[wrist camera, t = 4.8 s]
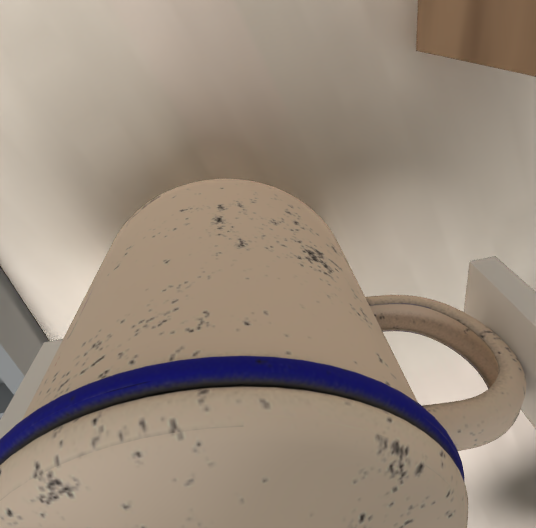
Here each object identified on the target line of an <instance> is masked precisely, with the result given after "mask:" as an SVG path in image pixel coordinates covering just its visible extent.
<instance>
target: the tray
mask: <svg viewBox="0 0 536 528" xmlns="http://www.w3.org/2000/svg"><path fill="white" fill-rule="evenodd" d="M44 342H49V340H48V339H47V337H46V336H45V334H44V333H43V331H42V330H41V328H40V327H39V325H38V324H37V322H36V321H35V319H34V317H33V316H32V314H31V313H30V311H29V310H28V308H27V307H26V305H25V304H24V302H23V301H22V299H21V298H20V296H19V294H18V293H17V291H16V290H15V288H14V287H13V285H12V284H11V282H10V281H9V279H8V278H7V276H6V275H5V273H4V272H3V270H2V268H1V267H0V420H1V418H2V416H3V414H4V412H5V411H6V409H7V407H8V405H9V404H10V402H11V400H12V398H13V397H14V395H15V393H16V391H17V389H18V388H19V386H20V384H21V382H22V381H23V379H24V377H25V375H26V373H27V372H28V370H29V368H30V366H31V365H32V363H33V361H34V359H35V357H36V356H37V354H38V352H39V350H40V349H41V347H42V345H43V343H44Z"/></svg>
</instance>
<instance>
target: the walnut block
mask: <svg viewBox="0 0 536 528" xmlns="http://www.w3.org/2000/svg"><path fill="white" fill-rule="evenodd" d="M416 51H421V52H425V53H430V54H434V55H439V56H444V57H448V58H453V59H457V60H462V61H467V62H471V63H476V64H481V65H485V66H490V67H494V68H499V69H504V70H508V71H513V72H517V73H522V74H527V75H531V76H536V0H418V16H417V45H416Z"/></svg>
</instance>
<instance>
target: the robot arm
mask: <svg viewBox="0 0 536 528" xmlns="http://www.w3.org/2000/svg"><path fill="white" fill-rule="evenodd" d="M464 313H466V314H468V315H470V316H472V317H473V318H475V319H477V320H478V321H480V322H481V323H483V324H484V325H485V326H487V327H488V328H489V329H491V330H492V331H493V332H494V333H496V334H497V335H498V336H499V337H500V338H501V339H502V340H503V341H504V342H505V343H506V344H507V345H508V346H509V348H510V349H511V350H512V351H513V353H514V354H515V355H516V357H517V359H518V360H519V362H520V364H521V366H522V369H523V371H524V374H525V379H526V394H525V398H524V401H523V404H522V407H521V410H522V412H523V413H524V414H525V416H526V417H527V418H528V419H529V421H530V422H531V423H532V425H533V426H534V427H535V429H536V292H535V291H534V290H533V289H532V288H531V287H530V286H528V285H527V284H526V283H525V282H524V281H523V280H522V279H521V278H519V277H518V276H517V275H516V274H515V273H514V272H513V271H511V270H510V269H509V268H508V267H507V266H506V265H505V264H504V263H502V262H501V261H500V260H499V259H498V258H497V257H496V256H494V257H489V258H484V259H479V260H473V261H470V263H469V271H468V280H467V288H466V296H465V305H464ZM62 340H63V339H60V340H55V341H49V342H44V343H43V345H42V347H41V349H40V350H39V352H38V354H37V356H36V357H35V359H34V361H33V363H32V365H31V366H30V368H29V370H28V372H27V373H26V375H25V377H24V379H23V381H22V382H21V384H20V386H19V388H18V389H17V391H16V393H15V395H14V397H13V398H12V400H11V402H10V404H9V405H8V407H7V409H6V411H5V412H4V414H3V416H2V418H1V420H0V439H1V438H2V437H3V436H4V435H5V434H6V433H8V432H9V431H10V430H11V429H12V428H13V427H14V426H15V425H16V424H18V423H19V422H20V421H22V419H23V417H24V415H25V413H26V411H27V409H28V407H29V405H30V403H31V401H32V399H33V397H34V395H35V393H36V391H37V389H38V387H39V385H40V383H41V382H42V380H43V378H44V376H45V374H46V372H47V370H48V368H49V366H50V364H51V362H52V360H53V358H54V356H55V354H56V352H57V350H58V348H59V346H60V344H61V342H62Z"/></svg>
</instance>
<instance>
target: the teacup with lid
mask: <svg viewBox="0 0 536 528" xmlns="http://www.w3.org/2000/svg"><path fill="white" fill-rule="evenodd" d="M383 331H404V332H411V333H416V334H420V335H424V336H427V337H429V338H432V339H434V340H436V341H438V342H440V343H442V344H444V345H446V346H448V347H449V348H451V349H452V350H454V351H455V352H457V353H458V354H459V355H461V356H462V357H463V358H464V359H466V360H467V361H468V362H469V363H470V364H471V365H472V366H473V367H474V368H475V369H476V370H477V372H478V373H479V374H480V375H481V377H482V378H483V380H484V381H485V383H486V385H487V387H488V390H487V391H485V392H484V393H482V394H480V395H478V396H476V397H473V398H469V399H465V400H461V401H455V402H449V403H441V404H432V405H424V406H421V405H420V404H419V403H418V402H417V400H416V398H415V396H414V394H413V392H412V390H411V388H410V386H409V384H408V382H407V380H406V378H405V376H404V374H403V372H402V370H401V368H400V366H399V364H398V362H397V360H396V358H395V356H394V354H393V352H392V350H391V348H390V346H389V344H388V342H387V340H386V338H385V336H384V334H383ZM525 394H526V379H525V374H524V371H523V369H522V366H521V364H520V362H519V360H518V359H517V357H516V355H515V354H514V353H513V351H512V350H511V349H510V348H509V346H508V345H507V344H506V343H505V342H504V341H503V340H502V339H501V338H500V337H499V336H498V335H497V334H496V333H494V332H493V331H492V330H491V329H489V328H488V327H487V326H485V325H484V324H483V323H481V322H480V321H478V320H477V319H475V318H473V317H472V316H470V315H468V314H466V313H464V312H462V311H460V310H458V309H456V308H454V307H452V306H449V305H447V304H444V303H441V302H438V301H435V300H431V299H428V298H423V297H417V296H409V295H382V296H371V297H365V296H364V294H363V292H362V290H361V288H360V286H359V284H358V282H357V280H356V278H355V276H354V274H353V272H352V270H351V268H350V266H349V264H348V262H347V260H346V258H345V256H344V254H343V252H342V250H341V248H340V246H339V244H338V242H337V240H336V238H335V236H334V235H333V233H332V231H331V230H330V228H329V227H328V226H327V225H326V223H325V222H324V221H323V220H322V219H321V217H320V216H319V215H318V214H317V213H316V212H315V211H314V210H312V209H311V208H310V207H309V206H308V205H306V204H305V203H304V202H302V201H301V200H299V199H298V198H296V197H294V196H293V195H291V194H289V193H287V192H285V191H283V190H280V189H278V188H275V187H273V186H270V185H266V184H263V183H259V182H254V181H249V180H242V179H210V180H203V181H197V182H192V183H189V184H185V185H182V186H179V187H176V188H174V189H171V190H169V191H166V192H165V193H163V194H161V195H159V196H157V197H155V198H154V199H152V200H151V201H149V202H148V203H146V204H145V205H144V206H142V207H141V208H140V209H139V210H138V211H136V212H135V213H134V214H133V215H132V216H131V217H130V218H129V220H128V221H127V222H126V223H125V224H124V226H123V227H122V228H121V229H120V231H119V232H118V234H117V236H116V237H115V239H114V241H113V243H112V245H111V247H110V249H109V251H108V253H107V255H106V257H105V258H104V260H103V262H102V264H101V266H100V268H99V270H98V272H97V274H96V276H95V278H94V280H93V282H92V284H91V286H90V288H89V290H88V292H87V294H86V296H85V298H84V299H83V301H82V303H81V305H80V307H79V309H78V311H77V313H76V315H75V317H74V319H73V321H72V323H71V325H70V327H69V329H68V331H67V333H66V335H65V337H64V339H63V340H62V342H61V344H60V346H59V348H58V350H57V352H56V354H55V356H54V358H53V360H52V362H51V364H50V366H49V368H48V370H47V372H46V374H45V376H44V378H43V380H42V382H41V383H40V385H39V387H38V389H37V391H36V393H35V395H34V397H33V399H32V401H31V403H30V405H29V407H28V409H27V411H26V413H25V415H24V417H23V419H22V421H20V422H19V423H18V424H16V425H15V426H14V427H13V428H12V429H11V430H10V431H9V432H8V433H6V434H5V435H4V436H3V437H2V438H1V439H0V528H467V520H468V497H467V491H466V486H465V483H464V472H463V466H462V461H461V459H460V456H459V454H458V451H461V450H466V449H471V448H475V447H479V446H482V445H485V444H488V443H490V442H492V441H494V440H496V439H498V438H499V437H500V436H502V435H503V434H504V433H506V432H507V431H508V429H509V428H510V427H511V426H512V425H513V423H514V422H515V420H516V418H517V417H518V415H519V412H520V409H521V407H522V404H523V401H524V398H525Z"/></svg>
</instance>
